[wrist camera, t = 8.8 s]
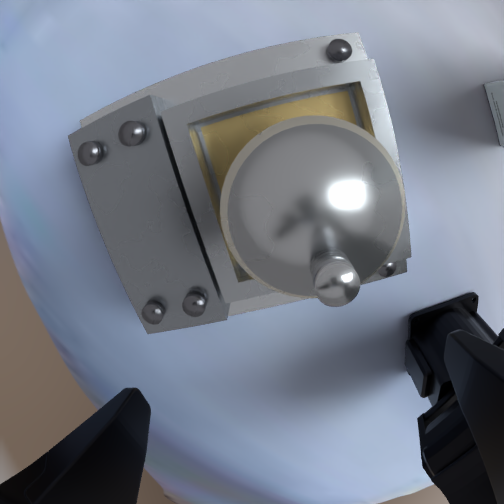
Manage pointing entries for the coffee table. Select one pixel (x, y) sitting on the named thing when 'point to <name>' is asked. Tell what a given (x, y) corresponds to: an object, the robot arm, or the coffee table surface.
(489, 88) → the ink box
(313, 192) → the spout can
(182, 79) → the gearbox
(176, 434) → the coffee table surface
